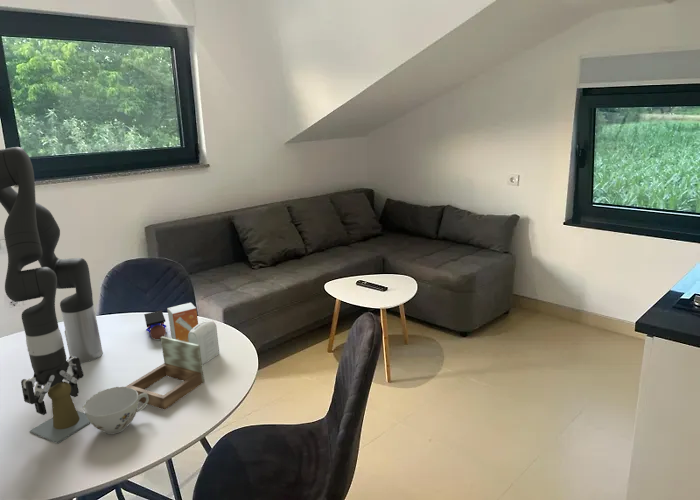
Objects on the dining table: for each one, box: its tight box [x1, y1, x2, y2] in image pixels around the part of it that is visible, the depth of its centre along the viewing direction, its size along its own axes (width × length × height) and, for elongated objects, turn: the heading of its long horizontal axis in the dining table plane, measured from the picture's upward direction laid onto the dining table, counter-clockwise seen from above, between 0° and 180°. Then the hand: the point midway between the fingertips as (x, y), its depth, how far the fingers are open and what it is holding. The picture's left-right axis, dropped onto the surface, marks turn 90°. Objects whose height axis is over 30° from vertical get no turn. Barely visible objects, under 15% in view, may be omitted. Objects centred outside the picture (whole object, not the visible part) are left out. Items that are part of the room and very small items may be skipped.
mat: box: [29, 410, 91, 444], centre depth 133 cm, size 11×11×1 cm
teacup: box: [82, 386, 149, 435], centre depth 131 cm, size 15×12×8 cm
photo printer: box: [188, 320, 220, 366], centre depth 162 cm, size 10×4×12 cm, turn 155°
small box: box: [167, 302, 199, 342], centre depth 174 cm, size 8×6×13 cm
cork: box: [47, 380, 79, 429], centre depth 132 cm, size 6×6×11 cm
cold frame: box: [125, 336, 205, 411], centre depth 146 cm, size 14×15×12 cm
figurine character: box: [143, 309, 167, 340], centre depth 183 cm, size 7×8×15 cm
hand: (59, 404), depth 131 cm, fingers open, 8 cm apart
